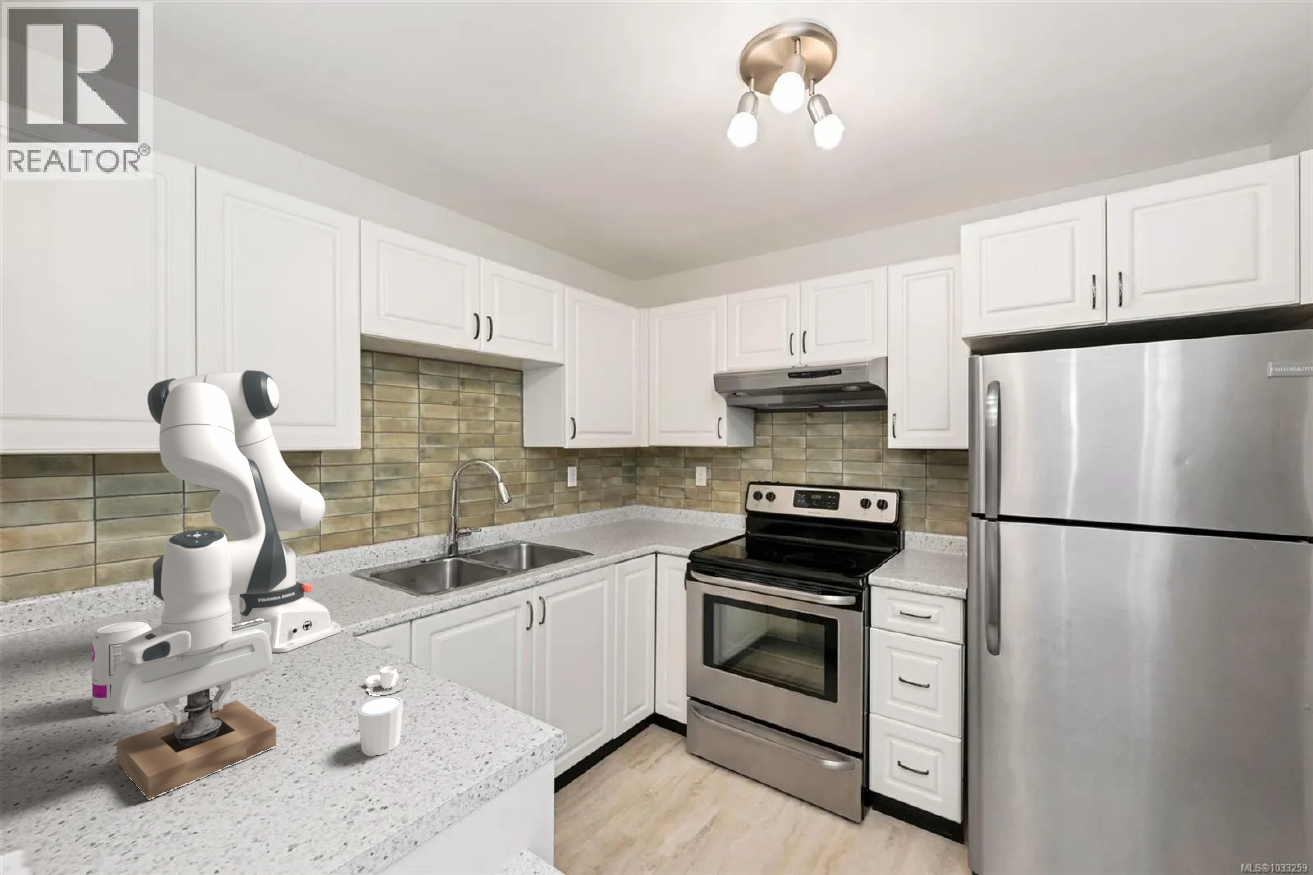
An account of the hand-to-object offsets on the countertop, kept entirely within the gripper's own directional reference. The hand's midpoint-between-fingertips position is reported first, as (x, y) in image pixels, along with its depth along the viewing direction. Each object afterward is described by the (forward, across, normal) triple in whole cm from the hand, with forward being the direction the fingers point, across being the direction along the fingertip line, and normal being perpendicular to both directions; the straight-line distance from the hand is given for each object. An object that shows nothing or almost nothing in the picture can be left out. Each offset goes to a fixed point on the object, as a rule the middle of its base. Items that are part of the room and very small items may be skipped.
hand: (198, 717), depth 89 cm
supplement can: (+6, +2, -33) cm, 34 cm away
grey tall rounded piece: (+6, 0, 0) cm, 6 cm away
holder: (+6, 0, 0) cm, 6 cm away
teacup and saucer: (+7, -33, 0) cm, 33 cm away
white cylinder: (+6, -18, +22) cm, 29 cm away
